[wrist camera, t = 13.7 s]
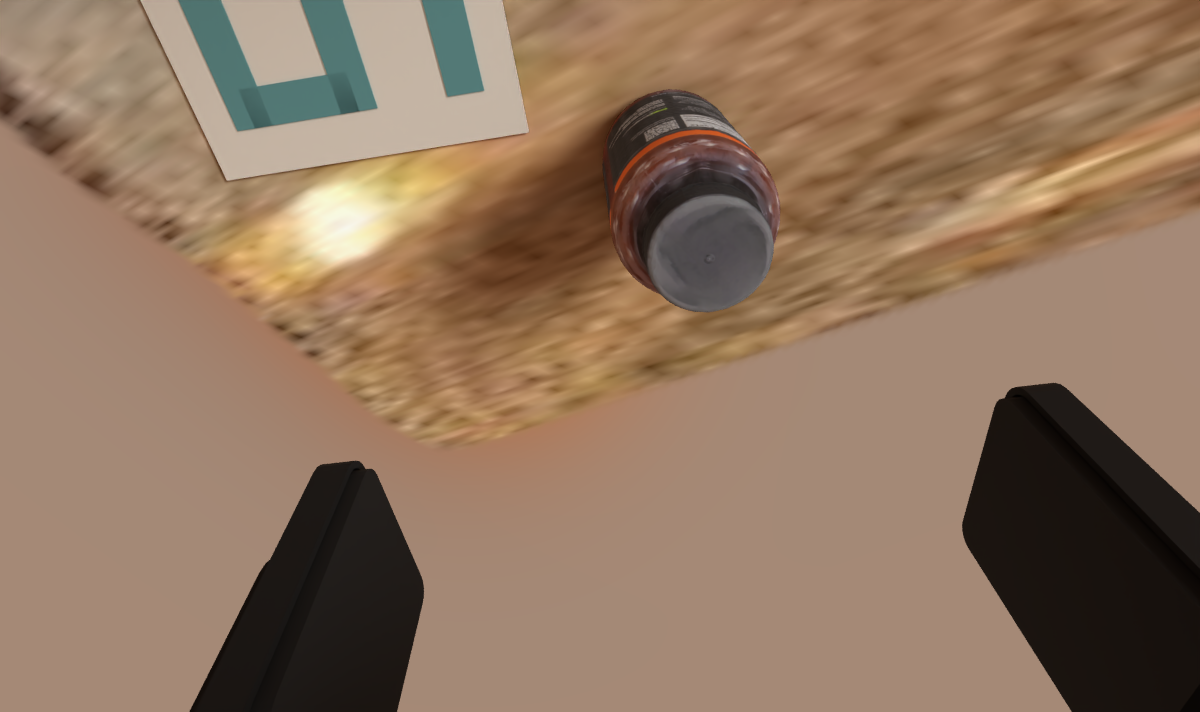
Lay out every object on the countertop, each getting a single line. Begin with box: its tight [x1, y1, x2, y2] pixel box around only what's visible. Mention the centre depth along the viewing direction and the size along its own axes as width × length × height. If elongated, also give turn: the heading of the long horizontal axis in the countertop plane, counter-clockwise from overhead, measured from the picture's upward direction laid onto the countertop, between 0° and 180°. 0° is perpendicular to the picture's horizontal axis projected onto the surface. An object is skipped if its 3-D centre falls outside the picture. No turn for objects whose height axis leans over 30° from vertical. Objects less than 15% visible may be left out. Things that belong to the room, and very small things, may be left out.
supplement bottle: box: [603, 89, 780, 312], centre depth 24 cm, size 6×6×11 cm
